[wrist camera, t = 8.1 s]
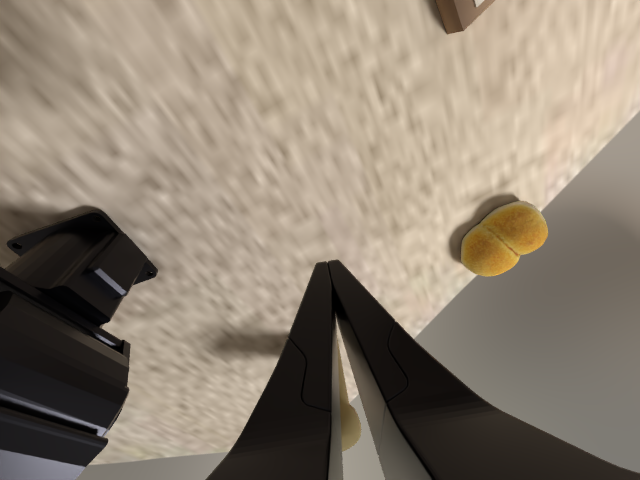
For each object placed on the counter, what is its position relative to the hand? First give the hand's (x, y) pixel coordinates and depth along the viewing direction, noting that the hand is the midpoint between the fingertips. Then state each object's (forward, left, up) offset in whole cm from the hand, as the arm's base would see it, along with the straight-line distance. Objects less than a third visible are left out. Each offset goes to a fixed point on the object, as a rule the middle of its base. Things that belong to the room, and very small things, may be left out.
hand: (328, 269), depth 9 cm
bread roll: (+20, -15, -12) cm, 28 cm away
